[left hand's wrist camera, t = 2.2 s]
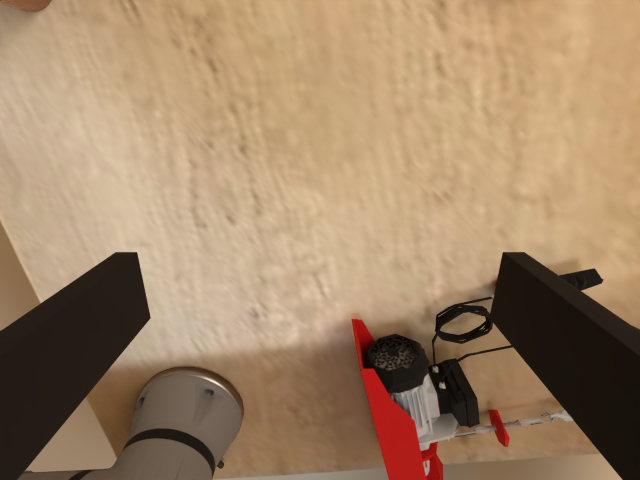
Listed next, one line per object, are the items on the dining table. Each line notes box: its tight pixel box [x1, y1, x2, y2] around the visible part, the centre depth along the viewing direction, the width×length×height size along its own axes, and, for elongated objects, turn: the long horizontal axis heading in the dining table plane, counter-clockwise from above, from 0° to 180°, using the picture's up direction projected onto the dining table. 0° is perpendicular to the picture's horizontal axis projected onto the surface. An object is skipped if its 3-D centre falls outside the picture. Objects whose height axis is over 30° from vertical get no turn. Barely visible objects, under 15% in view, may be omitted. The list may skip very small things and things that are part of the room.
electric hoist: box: [352, 269, 604, 480], centre depth 44 cm, size 10×27×30 cm
